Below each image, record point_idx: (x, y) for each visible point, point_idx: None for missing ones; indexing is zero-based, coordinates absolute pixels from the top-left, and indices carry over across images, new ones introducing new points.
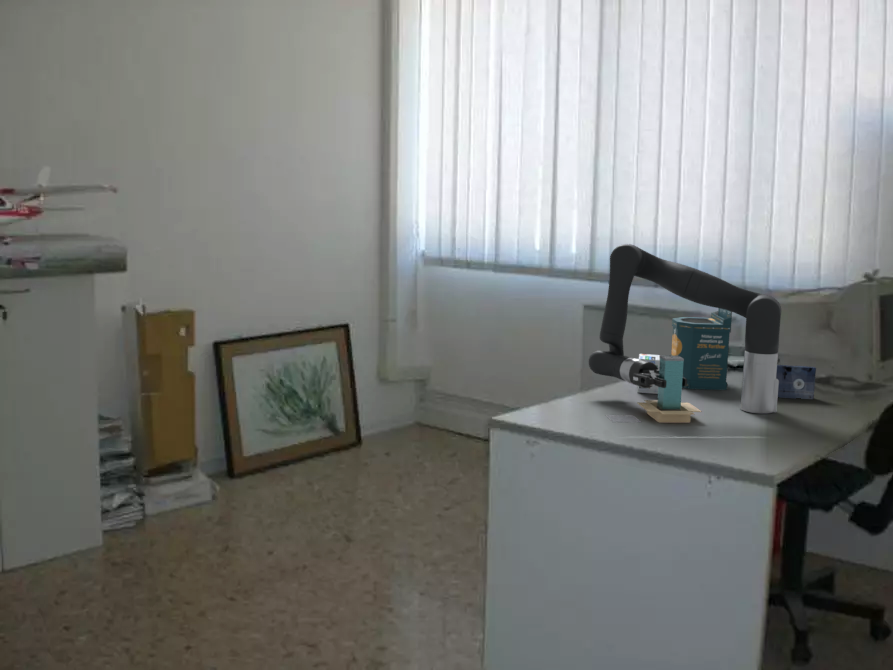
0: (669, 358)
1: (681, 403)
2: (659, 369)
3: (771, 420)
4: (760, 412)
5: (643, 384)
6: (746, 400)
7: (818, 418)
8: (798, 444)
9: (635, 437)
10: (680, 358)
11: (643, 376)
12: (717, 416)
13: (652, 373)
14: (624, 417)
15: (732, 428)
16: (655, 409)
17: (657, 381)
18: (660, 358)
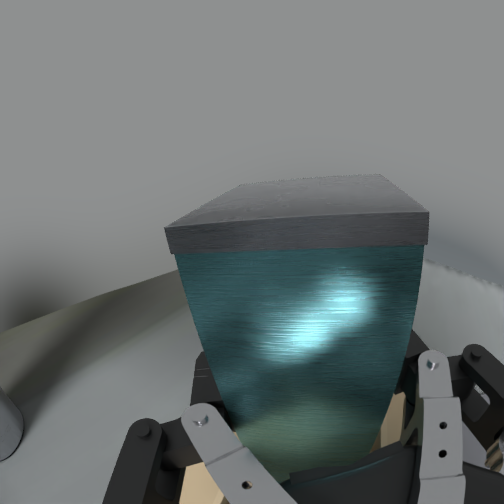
0: (349, 176)
1: (205, 494)
2: (399, 368)
3: (57, 376)
4: (19, 411)
5: (476, 396)
6: (1, 419)
7: (7, 357)
8: (177, 280)
9: (446, 302)
10: (259, 184)
11: (500, 363)
12: (109, 452)
13: (446, 413)
14: (476, 449)
15: (187, 354)
16: (392, 404)
17: (412, 337)
18: (416, 243)
